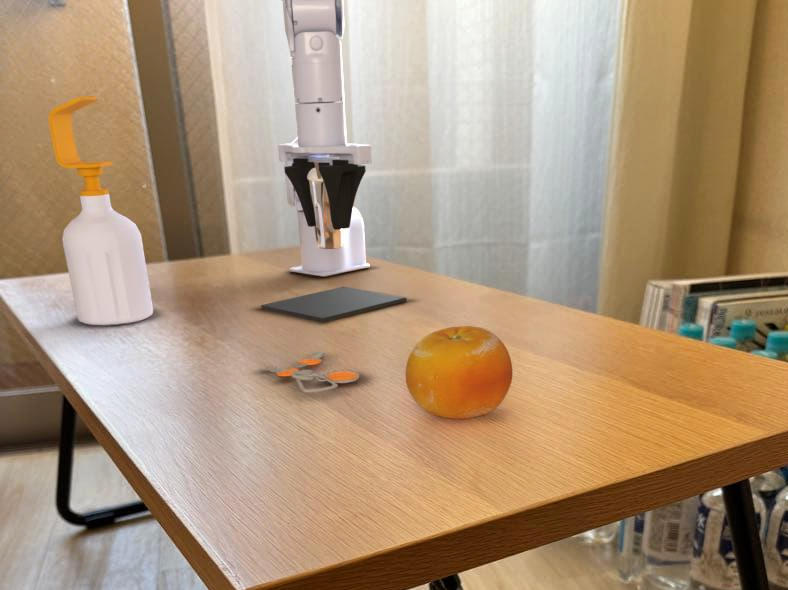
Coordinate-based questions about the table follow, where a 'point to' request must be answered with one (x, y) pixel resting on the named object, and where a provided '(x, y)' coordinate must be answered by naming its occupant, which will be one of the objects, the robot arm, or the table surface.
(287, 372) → the key chain
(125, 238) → the soap bottle
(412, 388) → the fruit
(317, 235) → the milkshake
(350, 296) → the mat
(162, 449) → the table surface
